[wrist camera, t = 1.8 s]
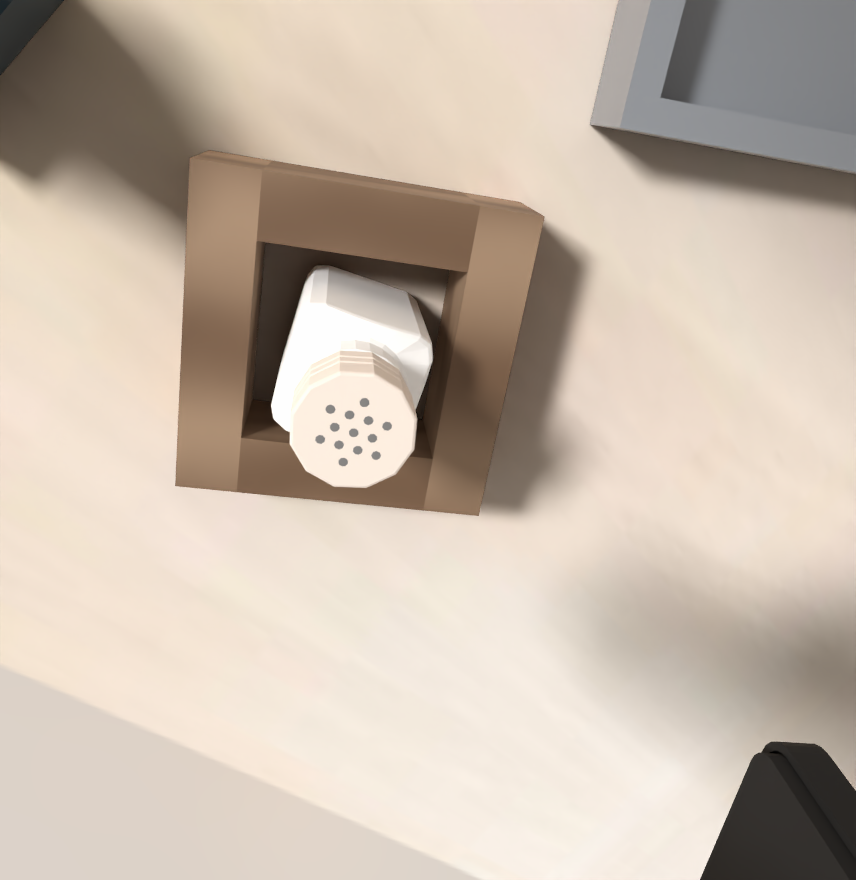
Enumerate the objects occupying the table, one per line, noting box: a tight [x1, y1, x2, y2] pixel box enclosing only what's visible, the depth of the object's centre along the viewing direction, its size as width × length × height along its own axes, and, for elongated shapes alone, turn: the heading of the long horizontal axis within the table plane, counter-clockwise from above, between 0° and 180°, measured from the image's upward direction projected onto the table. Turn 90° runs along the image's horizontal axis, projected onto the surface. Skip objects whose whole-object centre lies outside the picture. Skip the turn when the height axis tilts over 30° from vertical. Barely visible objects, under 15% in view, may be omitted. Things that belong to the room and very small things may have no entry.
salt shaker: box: [271, 265, 433, 488], centre depth 23 cm, size 4×4×10 cm
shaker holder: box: [175, 150, 544, 516], centre depth 26 cm, size 10×10×4 cm
